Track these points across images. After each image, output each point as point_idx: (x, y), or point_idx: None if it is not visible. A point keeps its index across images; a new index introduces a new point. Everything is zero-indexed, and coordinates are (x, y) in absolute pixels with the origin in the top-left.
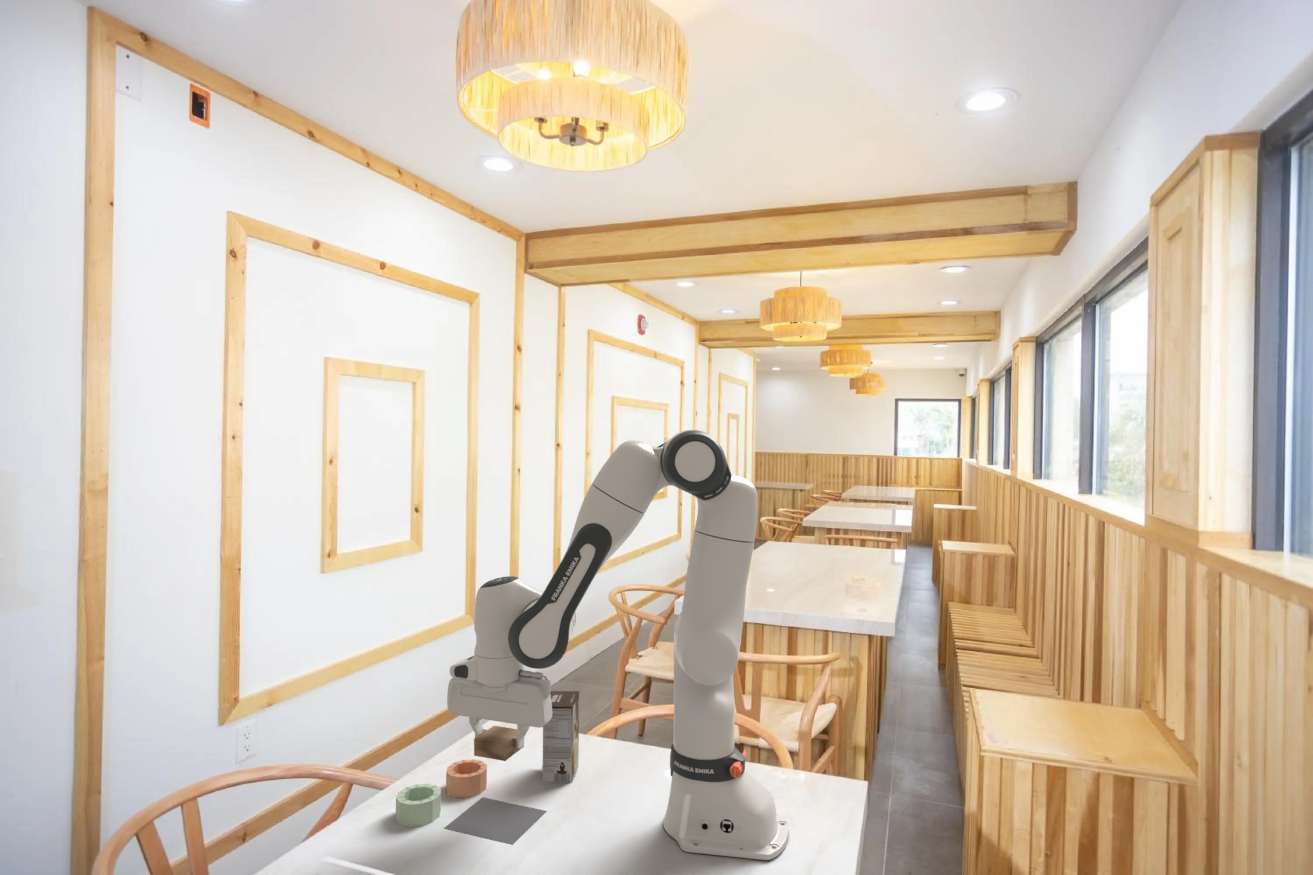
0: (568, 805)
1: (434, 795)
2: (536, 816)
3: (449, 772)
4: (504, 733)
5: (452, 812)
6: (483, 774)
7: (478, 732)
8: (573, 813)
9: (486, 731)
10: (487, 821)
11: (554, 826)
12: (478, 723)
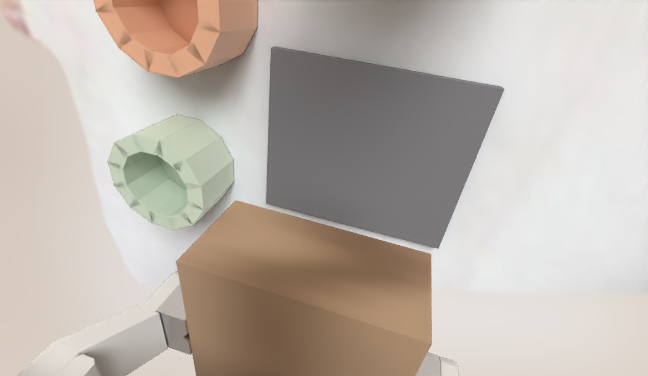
0: (585, 5)
1: (192, 189)
2: (472, 126)
3: (130, 50)
4: (309, 363)
5: (240, 125)
6: (225, 8)
7: (169, 344)
8: (607, 62)
9: (195, 330)
10: (344, 169)
11: (536, 150)
12: (114, 352)
